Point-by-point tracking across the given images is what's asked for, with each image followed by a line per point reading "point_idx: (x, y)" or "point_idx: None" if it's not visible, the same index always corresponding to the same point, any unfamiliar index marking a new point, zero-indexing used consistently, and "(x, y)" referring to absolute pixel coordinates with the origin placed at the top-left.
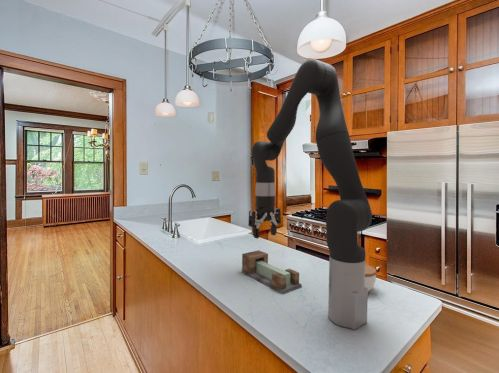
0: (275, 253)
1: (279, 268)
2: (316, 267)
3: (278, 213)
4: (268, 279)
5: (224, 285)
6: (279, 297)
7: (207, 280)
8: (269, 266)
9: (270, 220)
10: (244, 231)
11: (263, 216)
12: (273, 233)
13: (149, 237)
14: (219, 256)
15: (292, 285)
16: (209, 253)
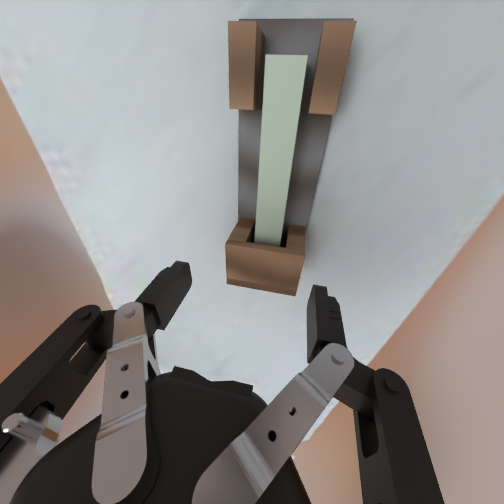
0: (145, 278)
1: (261, 139)
2: (88, 134)
3: (11, 409)
4: (298, 159)
5: (409, 231)
6: (390, 5)
7: (405, 280)
8: (274, 185)
9: (154, 366)
10: None
11: (265, 466)
12: (184, 274)
13: None
14: (266, 340)
15: (276, 42)
16: (270, 358)
